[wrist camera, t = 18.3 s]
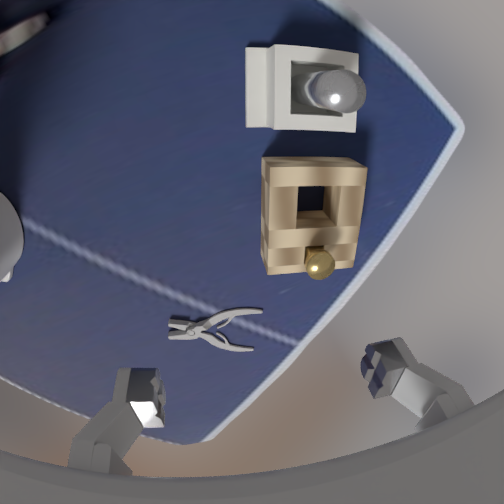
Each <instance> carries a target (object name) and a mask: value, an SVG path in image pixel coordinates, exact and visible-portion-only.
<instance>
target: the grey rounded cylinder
mask: <svg viewBox="0 0 504 504" xmlns="http://www.w3.org/2000/svg"><path fill="white" fill-rule="evenodd" d="M291 98H292V99H293V100H294V101H295V102H297V103H299V104H304V105H309V106H314V107H319V108H323V109H328V110H332V111H337V112H341V113H352V112H355V111H357V110H358V109H359V108H360V107H361V106H362V105H363V103H364V101H365V98H366V87H365V84H364V82H363V80H362V79H361V77H360V76H359V75H358V74H356V73H355V72H353V71H350V70H345V69H343V70H330V71H319V72H309V73H300V74H297V75H295V76H294V77H292V78H291Z"/></svg>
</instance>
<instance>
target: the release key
mask: <svg viewBox="0 0 504 504" xmlns="http://www.w3.org/2000/svg"><path fill="white" fill-rule="evenodd" d="M304 259H305V268H306V270H307V272H308V274H309V276H310V277H311V278H313V279H317V280H320V279H324V278H326V277H328V276H329V275H331V274H332V272H333V271H334V269H335V260H334V258H333V257H332V255H331V254H330V253H329V252H328V251H327V250H324V249H323V248H322V246H321V245H320V246H305V255H304Z"/></svg>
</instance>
